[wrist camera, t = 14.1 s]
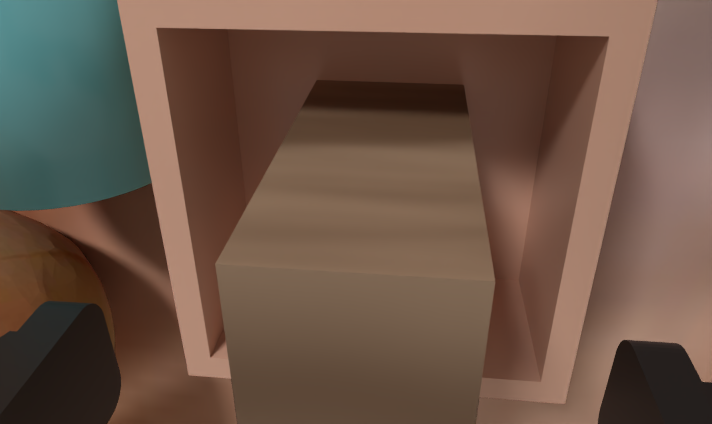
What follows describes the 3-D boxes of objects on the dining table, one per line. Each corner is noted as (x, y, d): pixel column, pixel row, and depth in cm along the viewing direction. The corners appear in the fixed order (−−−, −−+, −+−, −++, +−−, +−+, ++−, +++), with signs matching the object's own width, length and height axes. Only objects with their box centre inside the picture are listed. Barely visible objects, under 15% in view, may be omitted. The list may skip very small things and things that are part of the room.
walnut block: (316, 80, 17) (214, 264, 9) (463, 84, 16) (495, 281, 8) (320, 207, 18) (241, 450, 11) (452, 214, 18) (469, 471, 10)
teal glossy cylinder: (-106, -152, 14) (-271, -167, 9) (155, -151, 16) (136, -165, 10) (-16, 124, 18) (-100, 225, 13) (193, 108, 19) (192, 193, 14)
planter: (201, -43, 16) (114, -11, 12) (592, -40, 15) (658, -4, 11) (238, 270, 21) (188, 375, 16) (535, 287, 20) (564, 404, 15)
